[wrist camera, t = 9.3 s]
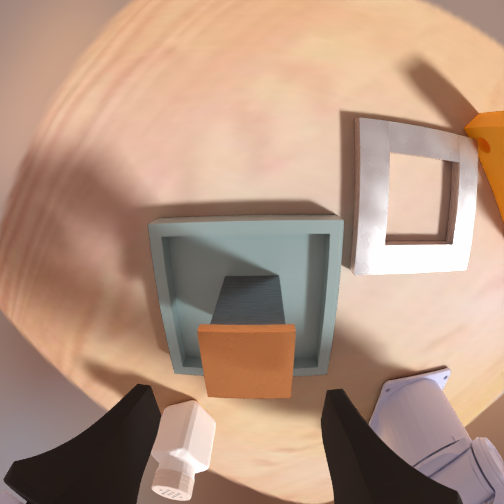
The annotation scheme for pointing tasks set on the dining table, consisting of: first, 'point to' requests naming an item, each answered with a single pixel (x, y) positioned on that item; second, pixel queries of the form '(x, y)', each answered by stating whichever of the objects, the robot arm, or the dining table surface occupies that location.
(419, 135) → the socket
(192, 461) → the pepper shaker
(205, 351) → the pin
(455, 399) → the dining table surface
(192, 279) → the tray
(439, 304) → the dining table surface
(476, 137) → the pipe clamp
